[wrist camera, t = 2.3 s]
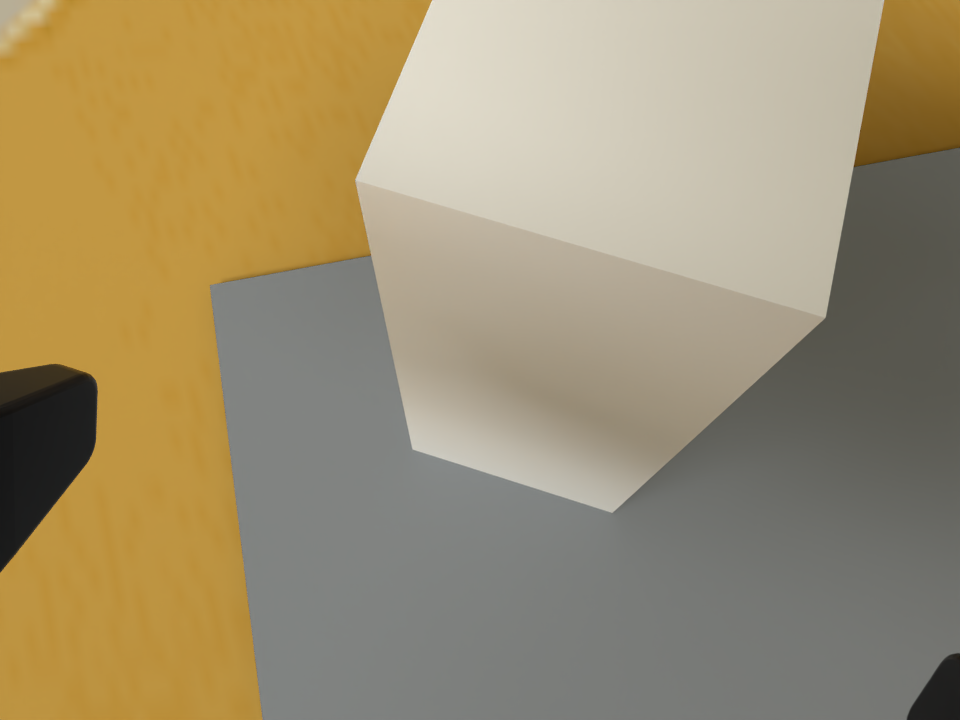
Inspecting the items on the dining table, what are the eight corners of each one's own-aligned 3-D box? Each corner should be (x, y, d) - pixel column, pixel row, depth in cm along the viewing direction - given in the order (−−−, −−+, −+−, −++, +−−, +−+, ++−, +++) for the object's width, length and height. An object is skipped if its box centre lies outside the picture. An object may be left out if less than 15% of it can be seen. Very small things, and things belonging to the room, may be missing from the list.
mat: (363, 1502, 15) (360, 1524, 14) (213, 291, 22) (209, 284, 22) (1517, 1116, 17) (1541, 1127, 17) (1017, 143, 25) (1026, 135, 24)
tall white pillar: (612, 512, 20) (825, 317, 9) (412, 449, 21) (355, 180, 9) (660, 327, 22) (892, -48, 10) (475, 271, 22) (496, -149, 11)
